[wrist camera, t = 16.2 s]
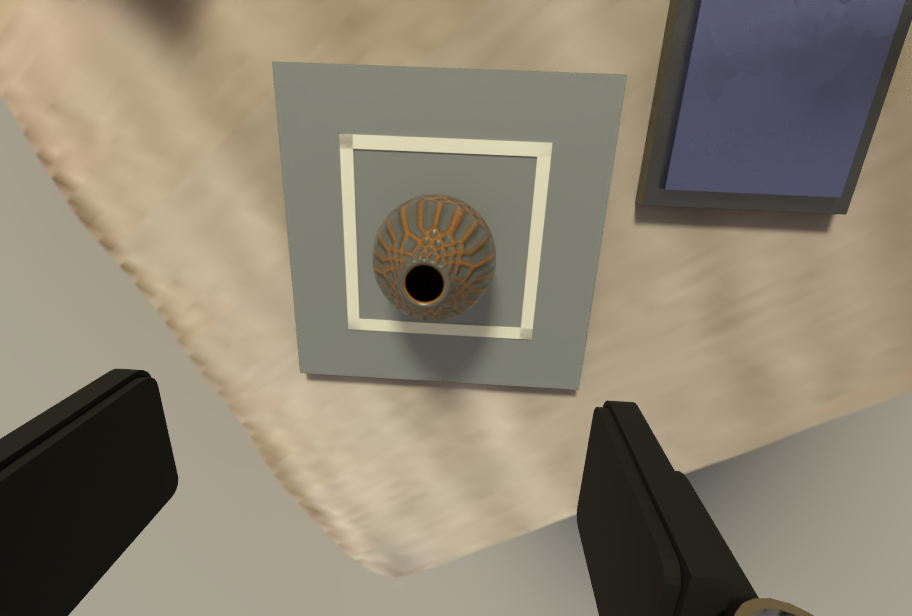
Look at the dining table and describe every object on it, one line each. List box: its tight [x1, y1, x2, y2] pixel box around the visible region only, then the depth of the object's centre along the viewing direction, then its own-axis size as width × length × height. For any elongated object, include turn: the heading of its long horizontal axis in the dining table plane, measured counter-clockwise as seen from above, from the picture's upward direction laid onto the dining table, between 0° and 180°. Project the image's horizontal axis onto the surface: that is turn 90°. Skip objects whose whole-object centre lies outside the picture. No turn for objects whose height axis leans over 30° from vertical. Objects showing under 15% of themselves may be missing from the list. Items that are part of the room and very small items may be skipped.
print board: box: [272, 62, 627, 390], centre depth 29 cm, size 20×20×1 cm
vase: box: [372, 194, 496, 321], centre depth 25 cm, size 7×7×9 cm
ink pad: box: [635, 0, 912, 214], centre depth 25 cm, size 12×12×2 cm
